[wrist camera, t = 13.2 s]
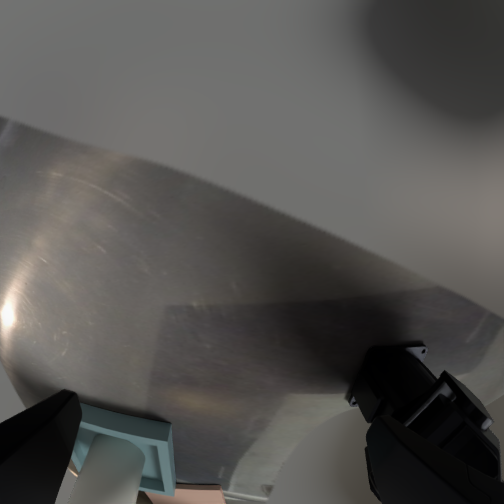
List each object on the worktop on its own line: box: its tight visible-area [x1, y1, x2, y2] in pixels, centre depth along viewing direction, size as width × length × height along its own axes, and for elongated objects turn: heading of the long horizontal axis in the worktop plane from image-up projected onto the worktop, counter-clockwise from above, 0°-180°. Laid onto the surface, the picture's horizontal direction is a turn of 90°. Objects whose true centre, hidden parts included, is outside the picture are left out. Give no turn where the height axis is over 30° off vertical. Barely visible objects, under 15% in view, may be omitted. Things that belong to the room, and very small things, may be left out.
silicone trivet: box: [145, 484, 226, 504], centre depth 26 cm, size 10×7×1 cm
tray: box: [71, 403, 176, 497], centre depth 22 cm, size 12×12×2 cm
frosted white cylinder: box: [68, 434, 146, 504], centre depth 17 cm, size 6×6×13 cm
